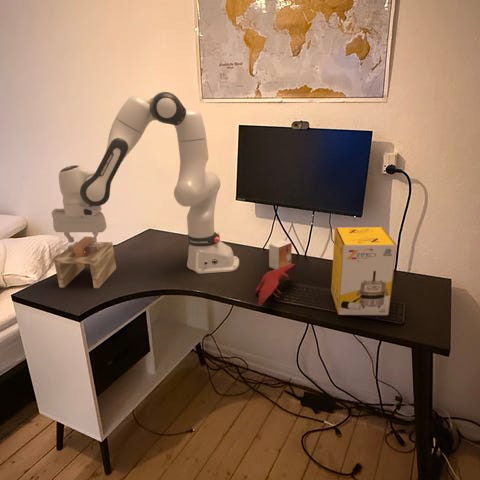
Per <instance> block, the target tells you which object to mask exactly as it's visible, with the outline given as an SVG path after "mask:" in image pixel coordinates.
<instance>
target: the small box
mask: <svg viewBox="0 0 480 480" xmlns="http://www.w3.org/2000/svg"><path fill="white" fill-rule="evenodd" d="M292 244H293V243H292V242H291V241H288V240H285V239H280V240H277V241H275V242H273V243H269V244H268V245H269V246H268V247H269V248H268V250H269V253H268V255H269V256H268V258H269V259H268V264H269V266H268V267H269V268H271V269H272V270H275V269H279V268H280V267H282V266H286V265H290V264H292V247H293V246H292Z"/></svg>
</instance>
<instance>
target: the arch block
mask: <svg viewBox="0 0 480 480" xmlns="http://www.w3.org/2000/svg"><path fill="white" fill-rule="evenodd" d="M92 237H93V236H83V237H82V238H80V240H79V241H76V242H77V243H76V244H75V245H74V246H73V247H74V252H75V257H87V256H89V255H90V254H91V253H92V252H91V251H84V248H85V247H86V246H88V245H93V243H92V242H91V238H92ZM87 265H88V263H77V267H85V268H86V266H87Z"/></svg>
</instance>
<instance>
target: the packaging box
mask: <svg viewBox="0 0 480 480" xmlns="http://www.w3.org/2000/svg"><path fill="white" fill-rule="evenodd" d="M397 247H398V246H397V243H396V242H395V241H394V240H393V238H392V237H391V236H390V235H389V233H388V232H387V230H386V229H385V228H384V227H383V226H379V227H378V226H377V227H376V226H375V227H374V226H373V227H371V226H369V227H361V226H358V227H357V226H356V227H355V226H354V227H346V226H345V227H335V228H334V238H333V255H332V270H331V271H332V272H331V285H330V286H331V289H330V292H331V296H332V297H333V298H332V299H333V302H334V304H335V309H336V311H337V314H338V316H339V315H340V316H389V314H390V313H389V312H390V304H391V297H392V288H393V281H394V280H393V279H394V271H395V263H396V254H397Z"/></svg>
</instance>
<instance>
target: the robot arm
mask: <svg viewBox="0 0 480 480" xmlns="http://www.w3.org/2000/svg"><path fill="white" fill-rule="evenodd" d="M180 100H181V99H179V98H178V97H177V96H176V94H173V93H171V92H168V91H161V92H159V93H157V94H155V95H153V97H152V98H150V99H145V97H142V96H140V95H139V96H138V95H131V96H130V97H129V98H128V99H127V100H126V101H125V102H124V104H123V105H122V107H121V108H120V109H119V111H118V113H117V114H116V116H115V117H114V119H113V122H112V125H111V128H110V130H109V132H108V133H109V134H108V138H107V139H108V140H107V146H106V149H105V152H104V155H103V156H102V159H101V161H100V163H99V165H98V167H97V169H96V170H95V171H92V170H88V169H86V168H83V167H81V166H80V165H76V164H75V165H70V166H66V167H64V168H62V169H61V170H60V171H59V173H58V184H59V191H60V193H61V195H62V205H63V208H54V209H52V211H51V217H52V225H53V231H54V232H56V233H63V235H64V236H65V238H66V239H67V241H68V243H75V237H73V236H72V235H71V233H92V235H93V236H91V237H92V238H91V242H92V243H96V242H98V240H97V238H98V235H99V233H103V232H105V231H106V229H107V227H108V226H107V220H106V217H105V215H104V213H103V211H102V209H103V208H102V206H103V205H105V204H106V203H107V202H108V201H109V198H110V195H111V187H112V186H111V185H112V181H113V179H114V178H115V176H116V174H117V172H118V170H119V168H120V166H121V164H122V162H123V161H124V160H125V158H127V156H128V155H129V153H131V151H132V150H133V149H134V148H135V146H136V145H137V144H138V142H139V141H140V139H141V138H142V136H143V134H144V133H145V131H146V129H147V127H148V126H149V125H150V123H151V122H153V121H158V122H159V123H162V124H168V125H172V126H174V128H175V132H176V138H177V144H178V152H179V153H178V154H179V174H178V180H177V182H176V185H175V187H174V189H173V197H174V199H175V201H176V202H177V203H178V205H180V206H181V207H185V208H187V207H189V210H188V213H187V215H186V225H187V234H186V240H187V247H188V255H187V256H188V257H187V261H186V262H187V263H186V267H187V268H188V269H189V270H192V271H194V272H195V273H196V274H212V273H229V272H234V271H236V270H238V268H239V266H240V259H239V258H238V256H236V255H234V252H233V249H232V247H231V246H229V245H227V244H225V242H223V241H221V240H220V239H221V238H220V232H216V231H215V208H216V202H217V197H218V196H217V195H218V193H219V190H220V188H221V180H220V177H219V176H218V175H217V174H216V173H215V172H214V171H206V166H207V163H208V160H209V150H208V143H207V142H208V141H207V140H208V139H207V132H206V127H205V124H204V119H203V116H202V114H201V112H199V111H198V110H197V109H194V108H186V107H185V106H184V105H183V104H182V102H181V101H180ZM101 211H102V212H101Z"/></svg>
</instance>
